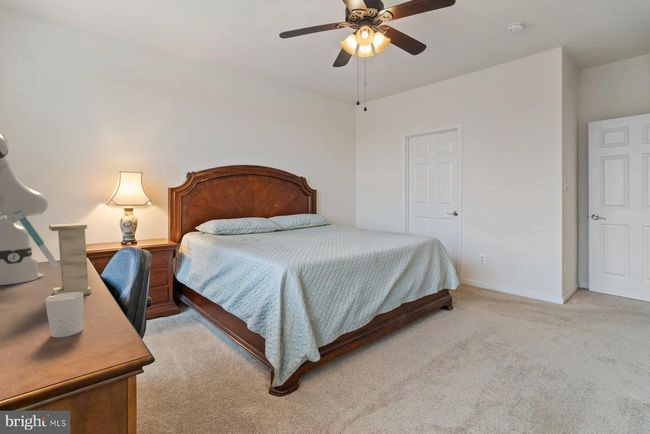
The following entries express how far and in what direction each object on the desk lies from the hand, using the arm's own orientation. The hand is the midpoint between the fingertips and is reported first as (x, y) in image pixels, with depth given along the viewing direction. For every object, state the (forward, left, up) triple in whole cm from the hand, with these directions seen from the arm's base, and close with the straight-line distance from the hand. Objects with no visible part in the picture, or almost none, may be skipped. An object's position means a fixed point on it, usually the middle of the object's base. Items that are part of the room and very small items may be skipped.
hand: (26, 212), depth 104 cm
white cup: (+31, +5, -32) cm, 45 cm away
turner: (0, +1, -9) cm, 9 cm away
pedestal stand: (-13, +11, -32) cm, 36 cm away
